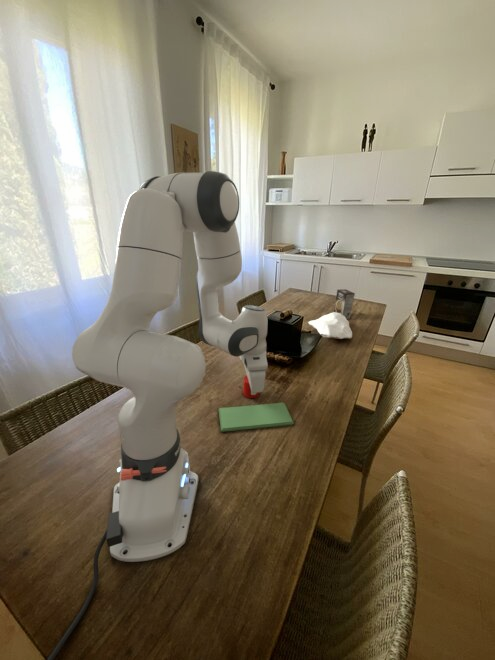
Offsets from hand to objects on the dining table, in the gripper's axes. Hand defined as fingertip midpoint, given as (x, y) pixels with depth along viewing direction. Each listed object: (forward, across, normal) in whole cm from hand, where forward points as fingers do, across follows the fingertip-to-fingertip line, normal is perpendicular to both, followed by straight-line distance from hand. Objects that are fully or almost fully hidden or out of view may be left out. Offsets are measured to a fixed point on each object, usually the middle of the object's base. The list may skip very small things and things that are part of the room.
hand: (251, 387), depth 98 cm
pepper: (+2, 0, 0) cm, 2 cm away
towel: (+2, +12, -1) cm, 12 cm away
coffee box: (+3, -71, +70) cm, 100 cm away
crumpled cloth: (+3, -47, +51) cm, 70 cm away
